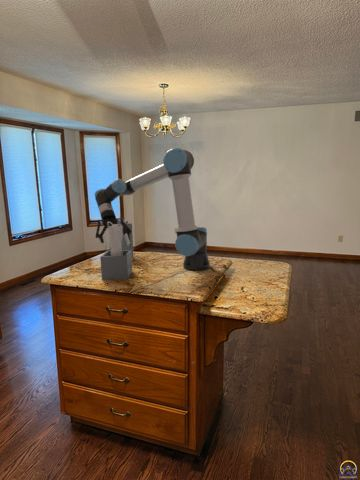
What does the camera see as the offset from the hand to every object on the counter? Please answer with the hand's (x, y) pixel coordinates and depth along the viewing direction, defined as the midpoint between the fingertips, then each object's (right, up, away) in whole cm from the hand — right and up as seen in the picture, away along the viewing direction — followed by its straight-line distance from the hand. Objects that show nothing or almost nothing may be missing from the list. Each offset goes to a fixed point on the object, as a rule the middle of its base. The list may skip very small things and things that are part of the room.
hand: (117, 246), depth 164 cm
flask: (-6, -8, +46) cm, 47 cm away
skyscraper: (-1, -15, +6) cm, 16 cm away
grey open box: (-1, -16, +6) cm, 16 cm away
